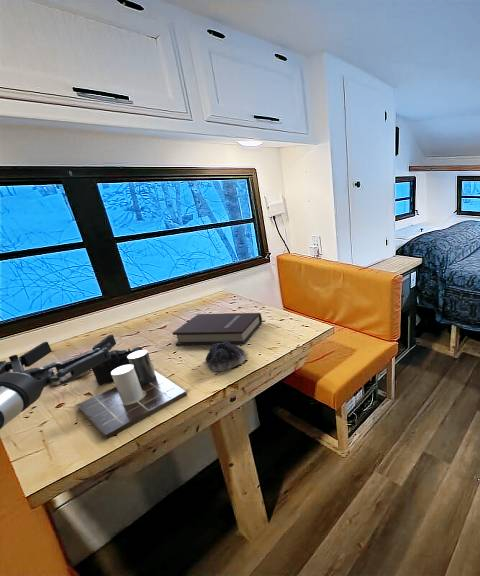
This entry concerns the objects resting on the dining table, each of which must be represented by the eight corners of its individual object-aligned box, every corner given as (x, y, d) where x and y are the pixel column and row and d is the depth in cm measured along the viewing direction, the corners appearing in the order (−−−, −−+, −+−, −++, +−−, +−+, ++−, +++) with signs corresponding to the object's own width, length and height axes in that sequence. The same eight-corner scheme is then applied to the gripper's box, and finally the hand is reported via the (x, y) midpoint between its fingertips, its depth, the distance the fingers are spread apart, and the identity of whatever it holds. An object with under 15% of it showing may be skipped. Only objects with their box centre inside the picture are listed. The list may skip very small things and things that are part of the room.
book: (262, 322, 142) (260, 311, 139) (244, 344, 123) (241, 331, 121) (203, 324, 142) (200, 312, 140) (176, 345, 124) (172, 332, 122)
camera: (150, 358, 115) (142, 335, 112) (149, 372, 107) (140, 347, 103) (102, 371, 108) (92, 347, 104) (97, 387, 99) (86, 361, 96)
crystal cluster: (223, 352, 119) (215, 331, 115) (254, 352, 117) (247, 330, 113) (200, 375, 107) (189, 352, 103) (234, 375, 105) (224, 352, 101)
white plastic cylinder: (118, 399, 91) (107, 371, 88) (139, 389, 95) (129, 362, 92) (126, 405, 89) (114, 377, 85) (146, 395, 93) (136, 367, 89)
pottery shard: (52, 391, 100) (88, 375, 104) (43, 381, 99) (80, 365, 102) (66, 375, 109) (98, 361, 113) (57, 366, 108) (91, 352, 111)
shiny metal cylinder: (133, 382, 99) (124, 355, 96) (152, 373, 103) (143, 348, 100) (140, 387, 96) (131, 360, 93) (159, 378, 101) (150, 352, 97)
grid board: (78, 408, 90) (76, 404, 90) (154, 373, 106) (153, 369, 106) (107, 439, 79) (105, 434, 79) (187, 395, 95) (186, 390, 94)
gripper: (-77, 430, 54) (26, 363, 73) (87, 405, 59) (142, 349, 78) (-101, 395, 51) (12, 336, 71) (73, 373, 56) (134, 323, 76)
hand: (81, 342), depth 75 cm, fingers open, 13 cm apart
